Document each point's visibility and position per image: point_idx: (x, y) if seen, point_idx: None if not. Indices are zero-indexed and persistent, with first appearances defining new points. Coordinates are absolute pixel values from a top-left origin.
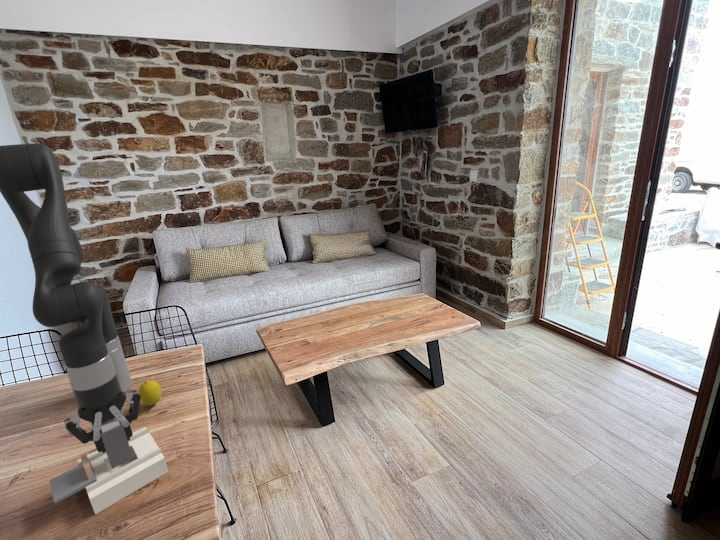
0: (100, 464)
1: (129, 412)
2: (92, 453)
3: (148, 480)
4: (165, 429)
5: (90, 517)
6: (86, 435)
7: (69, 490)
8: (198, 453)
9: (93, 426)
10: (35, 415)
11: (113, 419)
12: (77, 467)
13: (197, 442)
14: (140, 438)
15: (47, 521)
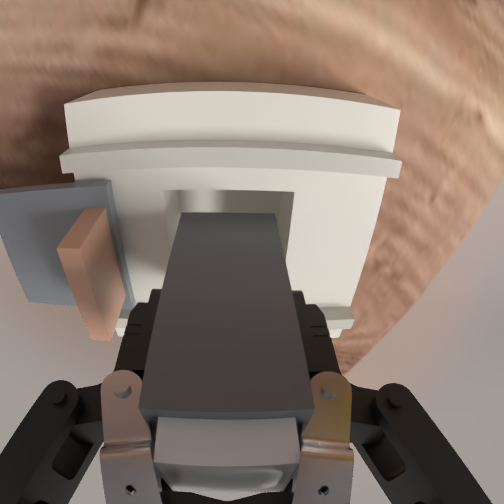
0: (148, 215)
1: (382, 424)
2: (124, 101)
3: None
4: (429, 94)
5: None
6: (87, 437)
7: (58, 293)
8: (406, 289)
9: (132, 493)
10: None
11: (261, 483)
12: (62, 195)
13: (435, 251)
14: (343, 178)
15: None
